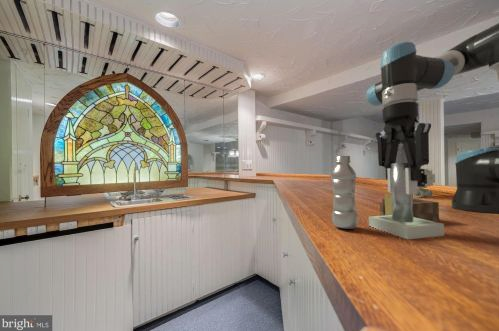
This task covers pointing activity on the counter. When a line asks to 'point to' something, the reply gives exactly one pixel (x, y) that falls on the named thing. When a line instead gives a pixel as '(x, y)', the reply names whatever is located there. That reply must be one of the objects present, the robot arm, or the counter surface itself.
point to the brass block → (388, 203)
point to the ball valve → (425, 183)
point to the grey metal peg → (400, 194)
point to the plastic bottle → (344, 194)
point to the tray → (407, 227)
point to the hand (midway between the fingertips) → (402, 192)
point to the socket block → (420, 209)
